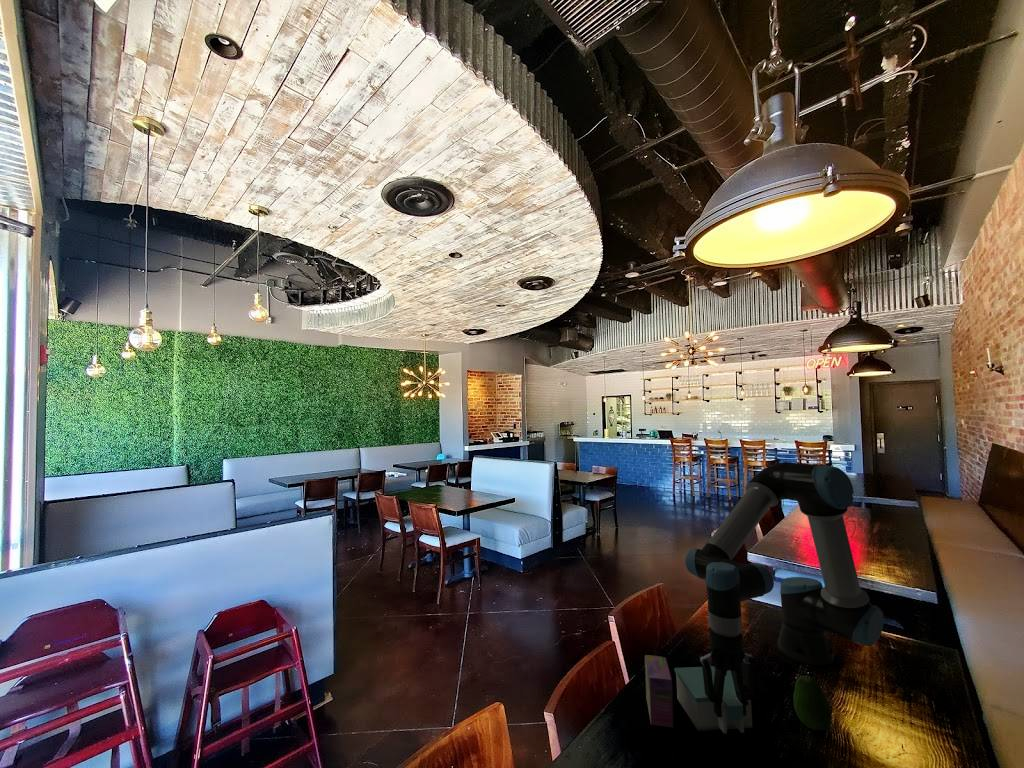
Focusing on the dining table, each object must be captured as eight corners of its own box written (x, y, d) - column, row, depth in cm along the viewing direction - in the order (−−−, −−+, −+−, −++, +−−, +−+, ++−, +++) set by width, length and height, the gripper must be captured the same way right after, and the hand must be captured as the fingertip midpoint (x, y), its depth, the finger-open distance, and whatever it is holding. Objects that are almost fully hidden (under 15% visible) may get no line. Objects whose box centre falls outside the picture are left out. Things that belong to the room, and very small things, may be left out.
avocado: (790, 713, 110) (787, 666, 111) (826, 720, 108) (822, 671, 109) (800, 735, 103) (796, 684, 104) (838, 743, 100) (834, 690, 101)
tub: (726, 696, 118) (725, 670, 118) (752, 728, 106) (750, 698, 106) (677, 698, 117) (676, 672, 118) (697, 730, 105) (696, 701, 106)
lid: (725, 673, 119) (725, 662, 119) (765, 717, 101) (764, 704, 101) (674, 675, 118) (674, 664, 118) (705, 720, 100) (705, 707, 101)
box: (674, 728, 106) (672, 679, 107) (650, 725, 107) (648, 677, 108) (667, 700, 116) (665, 656, 117) (646, 698, 118) (644, 654, 119)
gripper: (748, 620, 109) (754, 716, 107) (685, 623, 108) (690, 719, 106) (767, 635, 101) (774, 739, 99) (699, 638, 101) (705, 742, 99)
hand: (731, 728), depth 103 cm, fingers closed on lid, 3 cm apart
